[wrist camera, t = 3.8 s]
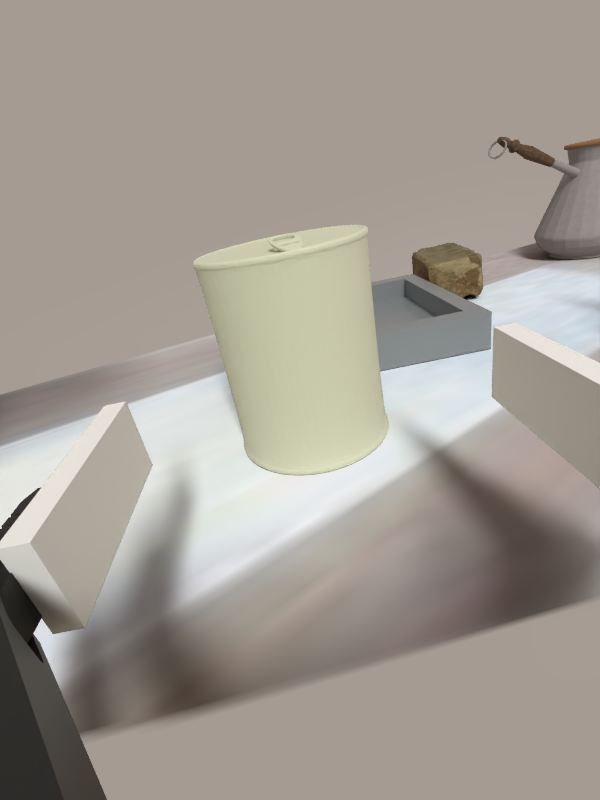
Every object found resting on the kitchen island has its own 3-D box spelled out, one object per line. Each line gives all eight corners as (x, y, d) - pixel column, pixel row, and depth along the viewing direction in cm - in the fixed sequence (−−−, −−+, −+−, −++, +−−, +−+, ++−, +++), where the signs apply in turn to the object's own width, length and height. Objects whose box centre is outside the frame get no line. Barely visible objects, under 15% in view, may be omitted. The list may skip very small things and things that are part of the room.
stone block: (455, 279, 54) (455, 239, 52) (485, 301, 44) (487, 253, 42) (411, 286, 55) (408, 248, 53) (430, 309, 45) (429, 263, 43)
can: (253, 495, 22) (185, 261, 16) (239, 417, 30) (189, 245, 25) (415, 447, 23) (399, 214, 17) (358, 385, 31) (336, 214, 26)
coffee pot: (572, 242, 61) (585, 122, 54) (661, 244, 51) (690, 98, 44) (457, 277, 55) (455, 147, 48) (532, 287, 45) (543, 126, 38)
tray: (243, 398, 33) (233, 364, 31) (249, 333, 49) (243, 308, 47) (490, 348, 33) (491, 311, 31) (414, 299, 49) (413, 274, 47)
